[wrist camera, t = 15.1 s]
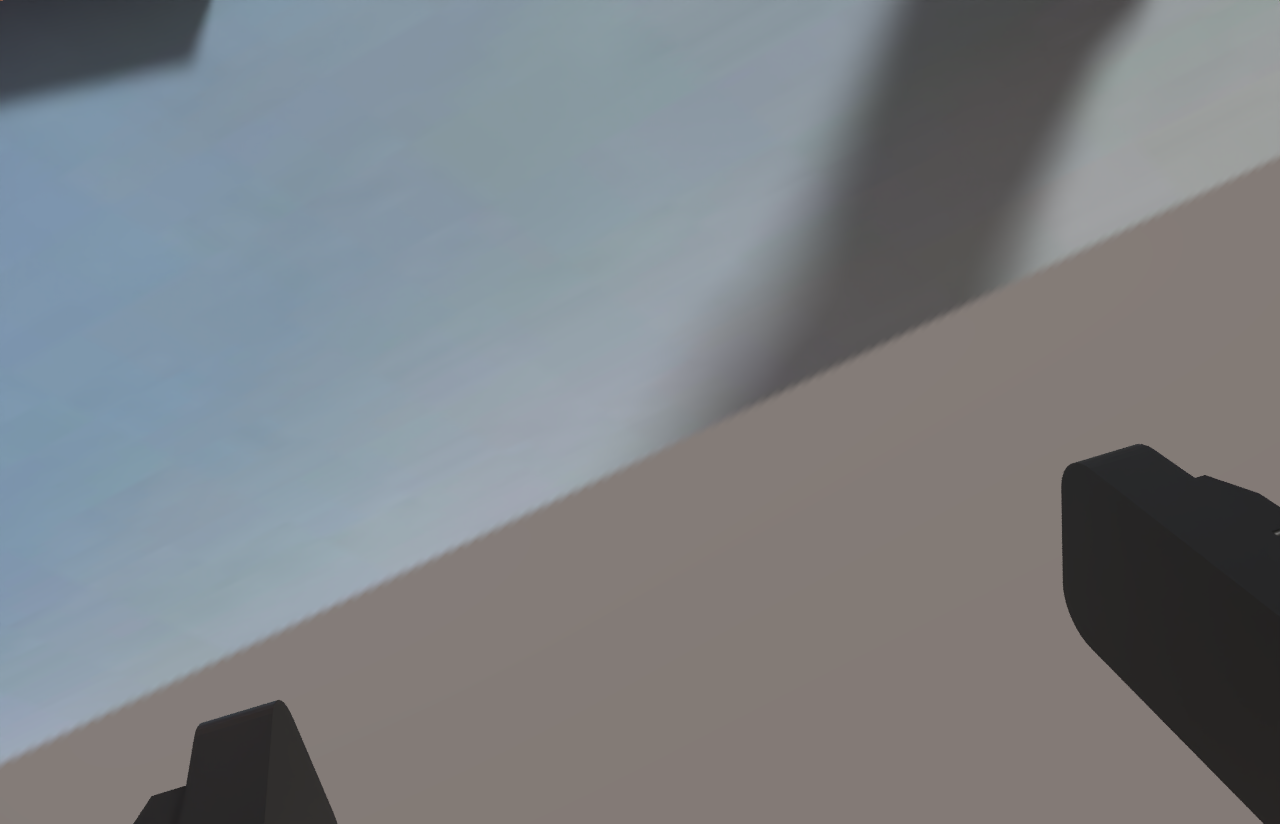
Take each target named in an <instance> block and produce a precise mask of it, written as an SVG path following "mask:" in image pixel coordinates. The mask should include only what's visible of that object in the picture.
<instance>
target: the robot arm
mask: <svg viewBox="0 0 1280 824" xmlns="http://www.w3.org/2000/svg"><path fill="white" fill-rule="evenodd" d="M1061 489H1062V490H1061V493H1062V553H1063V554H1062V556H1063V590H1064V595H1065V600H1066V604H1067V607H1068V610H1069V613H1070V615H1071V618H1072V620H1073V622H1074V624H1075V626H1076V628H1077V630H1078V631H1079V633H1080V635H1081V636H1082V638H1083V639H1084V640H1085V642H1086V643H1087V644H1088V645H1089V646H1090V647H1091V648H1092V650H1093V651H1095V653H1096V654H1097V655H1098V656H1099V657H1100V658H1101V659H1102V660H1103V661H1104V662H1105V663H1106V664H1107V665H1108V666H1109V667H1110V668H1111V669H1112V670H1113V671H1114V672H1115V673H1116V674H1117V675H1118V676H1119V677H1120V678H1121V679H1122V680H1123V681H1124V682H1125V683H1126V684H1127V685H1128V686H1129V687H1130V688H1131V689H1132V690H1133V691H1134V692H1135V693H1136V694H1137V695H1138V696H1139V697H1140V698H1141V699H1142V700H1143V701H1144V702H1145V703H1146V704H1147V705H1148V706H1149V708H1150V709H1152V711H1154V713H1155V714H1157V716H1158V717H1159V718H1160V719H1161V720H1162V721H1163V722H1164V723H1165V724H1166V725H1167V726H1168V727H1169V728H1170V729H1171V730H1172V731H1173V732H1174V733H1175V734H1176V735H1177V736H1178V737H1179V738H1180V739H1181V740H1182V741H1183V742H1184V743H1185V744H1186V745H1187V746H1188V747H1189V748H1190V749H1191V750H1192V751H1193V752H1194V753H1195V754H1196V755H1197V756H1198V757H1199V758H1200V759H1201V760H1202V761H1203V762H1204V763H1205V764H1206V765H1207V767H1208V768H1209V769H1210V770H1211V771H1212V772H1213V773H1214V774H1215V775H1216V776H1217V777H1218V778H1219V779H1220V780H1221V781H1222V782H1223V783H1224V784H1225V785H1226V786H1227V787H1228V788H1229V789H1230V790H1231V791H1232V792H1233V793H1234V794H1235V795H1236V796H1237V797H1238V798H1239V799H1240V800H1241V801H1242V802H1243V803H1244V804H1245V805H1246V806H1247V807H1248V808H1249V809H1250V810H1251V811H1252V812H1253V813H1254V814H1255V815H1256V816H1257V817H1258V818H1259V819H1260V820H1261V821H1262V822H1263V823H1264V824H1280V507H1279V506H1277V505H1276V504H1274V503H1273V502H1271V501H1270V500H1268V499H1267V498H1265V497H1264V496H1262V495H1261V494H1259V493H1256V492H1253V491H1250V490H1247V489H1244V488H1241V487H1239V486H1236V485H1233V484H1230V483H1227V482H1224V481H1220V480H1218V479H1215V478H1212V477H1209V476H1206V475H1204V476H1200V477H1197V478H1194V477H1193V476H1191V475H1190V474H1188V473H1186V472H1185V471H1184V470H1183V469H1181V468H1180V467H1178V466H1177V465H1175V464H1174V463H1172V462H1171V461H1169V460H1168V459H1167V458H1165V457H1164V456H1162V455H1161V454H1160V453H1158V452H1157V451H1155V450H1154V449H1152V448H1150V447H1149V446H1146V445H1143V444H1136V445H1133V446H1129V447H1126V448H1123V449H1119V450H1116V451H1113V452H1109V453H1106V454H1103V455H1099V456H1096V457H1093V458H1089V459H1086V460H1083V461H1079V462H1076V463H1072V464H1070V465H1069V466H1068V467H1067V468H1066V469H1065V471H1064V474H1063V477H1062V486H1061ZM134 824H337V821H336V818H335V816H334V813H333V811H332V808H331V806H330V804H329V801H328V799H327V797H326V794H325V792H324V790H323V787H322V785H321V782H320V780H319V778H318V775H317V773H316V771H315V768H314V766H313V764H312V761H311V759H310V757H309V754H308V752H307V750H306V748H305V745H304V743H303V741H302V738H301V736H300V733H299V731H298V729H297V726H296V724H295V722H294V719H293V717H292V715H291V713H290V711H289V709H288V708H287V706H286V705H285V703H284V702H282V701H280V700H277V701H273V702H270V703H267V704H263V705H260V706H257V707H253V708H250V709H247V710H243V711H240V712H237V713H234V714H230V715H227V716H224V717H220V718H217V719H214V720H210V721H207V722H204V723H201V724H200V725H199V726H198V727H197V729H196V732H195V737H194V742H193V748H192V754H191V760H190V766H189V772H188V778H187V784H186V786H183V787H180V788H177V789H174V790H171V791H167V792H164V793H161V794H157V795H154V796H152V797H151V798H150V799H149V801H148V803H147V804H146V806H145V807H144V809H143V810H142V812H141V813H140V815H139V816H138V818H137V819H136V821H135V822H134Z"/></svg>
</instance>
